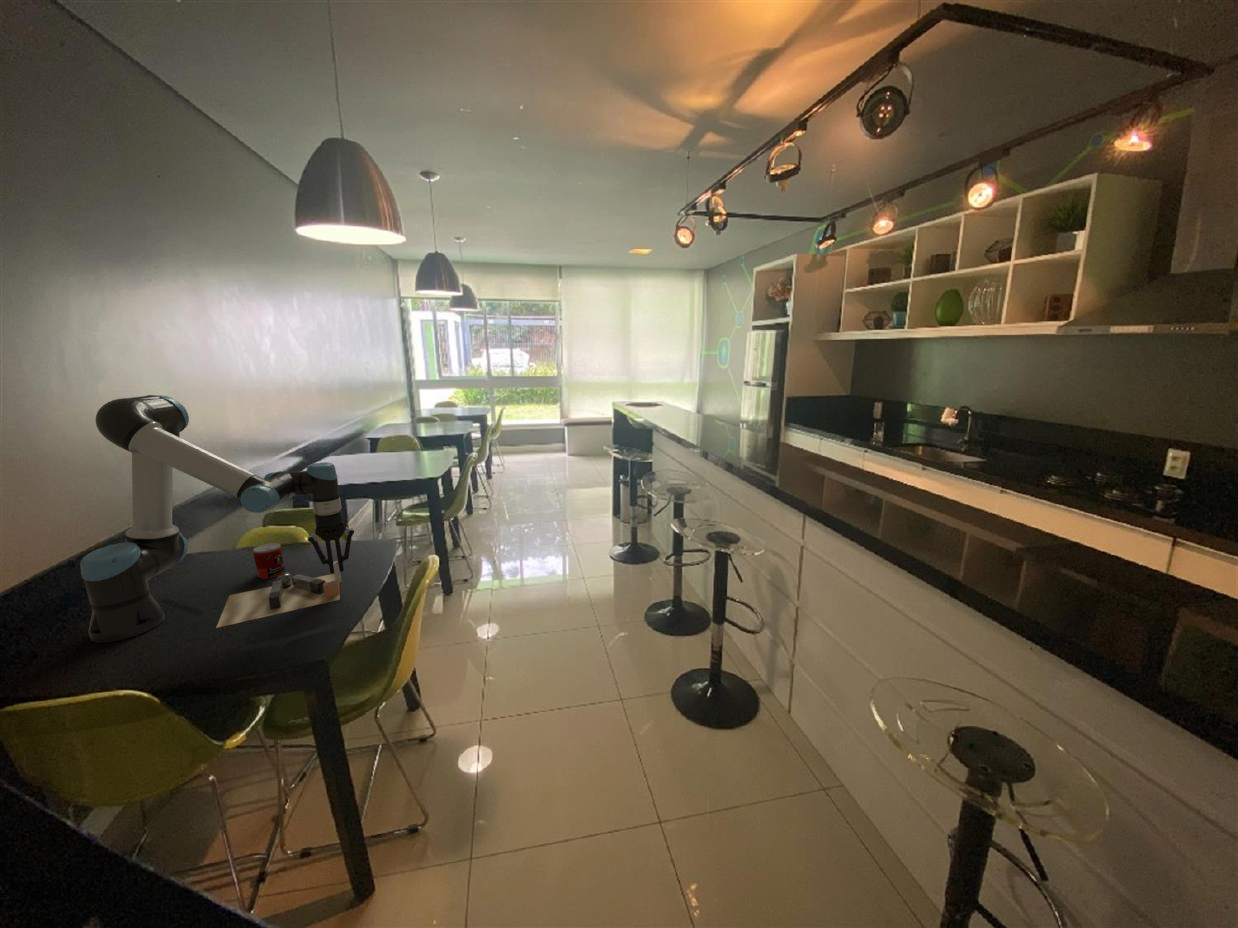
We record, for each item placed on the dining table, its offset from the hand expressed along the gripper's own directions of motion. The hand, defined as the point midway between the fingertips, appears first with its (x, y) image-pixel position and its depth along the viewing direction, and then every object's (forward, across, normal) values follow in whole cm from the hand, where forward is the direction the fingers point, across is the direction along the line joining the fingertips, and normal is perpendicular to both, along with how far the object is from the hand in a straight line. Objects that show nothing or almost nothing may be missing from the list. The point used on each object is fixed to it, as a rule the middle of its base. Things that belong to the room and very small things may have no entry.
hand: (338, 581), depth 157 cm
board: (+3, -15, +1) cm, 15 cm away
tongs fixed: (+2, -16, +3) cm, 16 cm away
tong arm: (+2, -8, +3) cm, 9 cm away
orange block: (+2, -2, -5) cm, 5 cm away
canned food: (+3, -20, +24) cm, 31 cm away
